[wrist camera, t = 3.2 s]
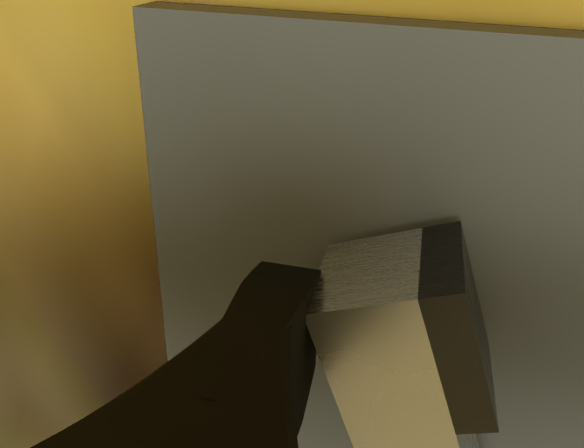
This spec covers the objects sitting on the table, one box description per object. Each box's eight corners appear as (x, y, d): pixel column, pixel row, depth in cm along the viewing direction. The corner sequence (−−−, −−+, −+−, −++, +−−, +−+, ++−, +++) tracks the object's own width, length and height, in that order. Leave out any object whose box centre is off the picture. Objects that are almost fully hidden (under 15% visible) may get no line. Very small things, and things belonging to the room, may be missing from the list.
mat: (813, 703, 13) (834, 745, 13) (198, 538, 16) (187, 564, 16) (1468, 90, 6) (1598, 110, 5) (155, 1, 9) (132, 6, 8)
